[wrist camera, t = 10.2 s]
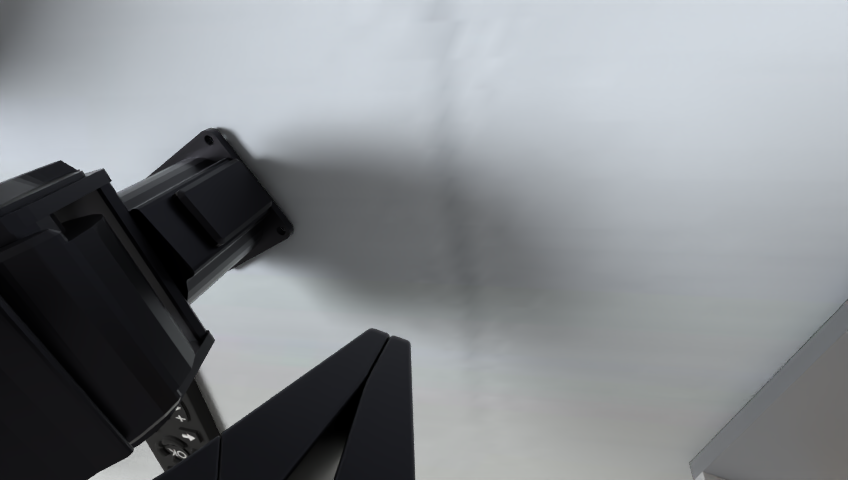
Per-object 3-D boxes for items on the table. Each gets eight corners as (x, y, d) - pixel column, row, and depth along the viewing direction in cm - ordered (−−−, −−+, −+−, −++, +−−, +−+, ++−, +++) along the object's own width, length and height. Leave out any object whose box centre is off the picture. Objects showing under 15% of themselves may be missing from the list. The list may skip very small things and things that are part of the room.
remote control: (203, 505, 47) (190, 525, 45) (56, 245, 31) (28, 260, 29) (266, 523, 45) (255, 544, 43) (144, 254, 29) (119, 271, 27)
